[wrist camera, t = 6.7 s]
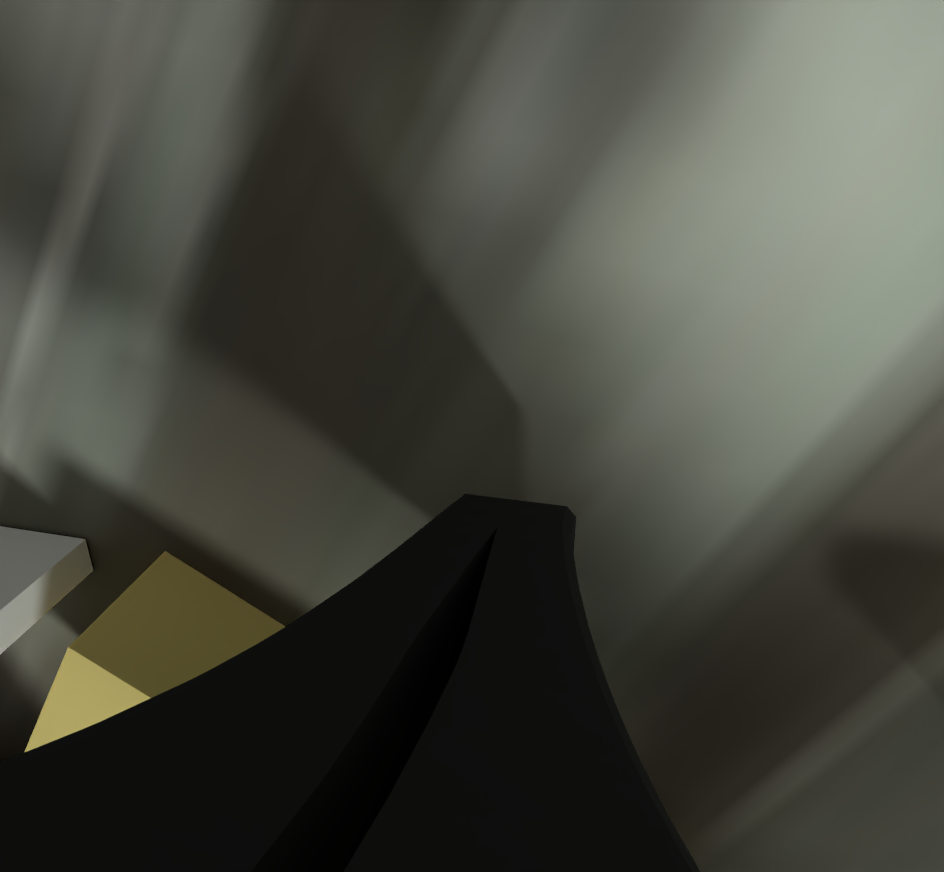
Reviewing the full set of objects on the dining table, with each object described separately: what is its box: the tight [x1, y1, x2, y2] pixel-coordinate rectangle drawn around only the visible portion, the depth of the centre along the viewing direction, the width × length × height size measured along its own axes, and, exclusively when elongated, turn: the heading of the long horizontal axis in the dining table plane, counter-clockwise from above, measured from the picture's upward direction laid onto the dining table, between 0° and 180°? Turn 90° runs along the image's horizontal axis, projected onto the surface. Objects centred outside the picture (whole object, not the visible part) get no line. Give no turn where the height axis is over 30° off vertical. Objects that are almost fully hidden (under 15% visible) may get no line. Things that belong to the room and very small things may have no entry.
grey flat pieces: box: [0, 526, 93, 654], centre depth 12 cm, size 18×8×3 cm, turn 90°
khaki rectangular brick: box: [25, 551, 285, 752], centre depth 12 cm, size 8×3×2 cm, turn 60°
